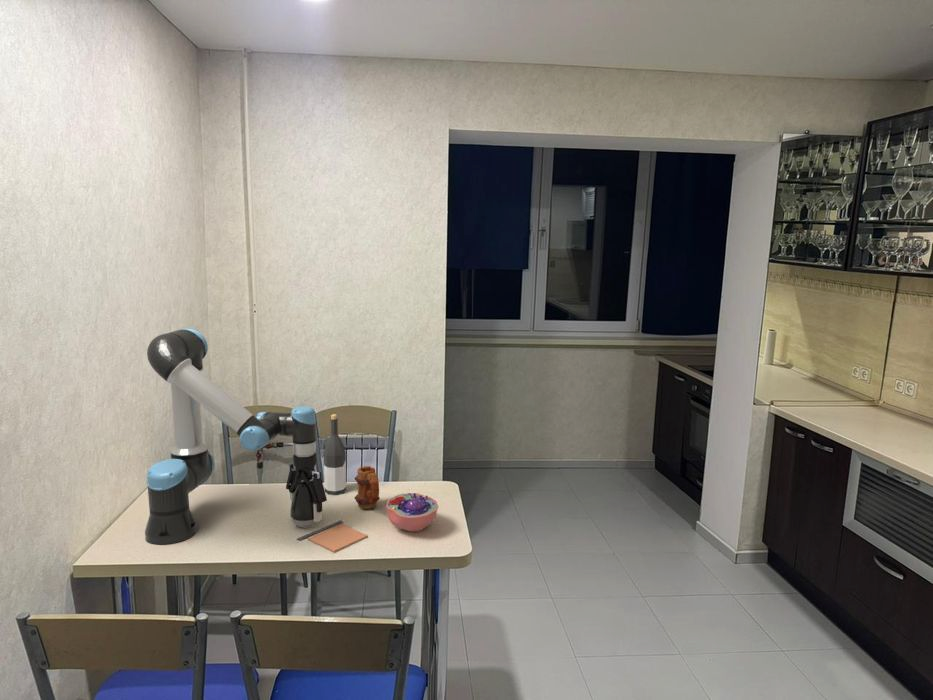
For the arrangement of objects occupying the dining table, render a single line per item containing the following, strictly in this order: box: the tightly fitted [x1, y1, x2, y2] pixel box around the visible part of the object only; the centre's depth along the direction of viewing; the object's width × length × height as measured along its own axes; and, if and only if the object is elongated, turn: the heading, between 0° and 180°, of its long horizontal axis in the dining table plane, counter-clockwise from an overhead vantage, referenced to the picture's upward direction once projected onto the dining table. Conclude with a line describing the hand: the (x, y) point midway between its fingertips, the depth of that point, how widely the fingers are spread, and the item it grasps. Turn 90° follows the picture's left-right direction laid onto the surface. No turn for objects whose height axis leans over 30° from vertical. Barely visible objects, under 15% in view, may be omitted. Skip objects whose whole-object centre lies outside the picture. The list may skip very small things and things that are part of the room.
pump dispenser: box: [289, 480, 319, 528], centre depth 219 cm, size 10×10×15 cm
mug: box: [353, 465, 380, 510], centre depth 232 cm, size 15×8×15 cm, turn 27°
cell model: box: [385, 492, 439, 533], centre depth 219 cm, size 17×20×11 cm
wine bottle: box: [323, 413, 347, 496], centre depth 246 cm, size 8×8×30 cm
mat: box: [306, 523, 369, 554], centre depth 211 cm, size 13×14×1 cm
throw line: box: [296, 519, 344, 542], centre depth 216 cm, size 2×18×1 cm, turn 141°
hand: (306, 515), depth 220 cm, fingers open, 11 cm apart
